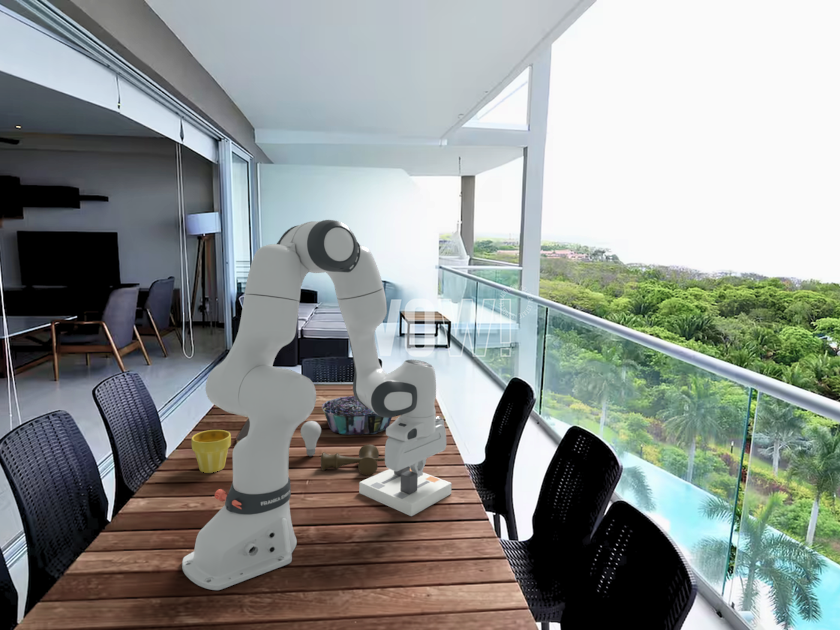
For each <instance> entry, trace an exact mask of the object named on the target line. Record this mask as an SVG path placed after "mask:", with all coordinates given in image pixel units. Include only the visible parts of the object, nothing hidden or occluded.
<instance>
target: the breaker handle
mask: <svg viewBox="0 0 840 630" xmlns="http://www.w3.org/2000/svg"><path fill="white" fill-rule="evenodd" d="M408 470H409V471H410V467H409V466H408V467H406V468H404V469H401V470H399V471H394V474H396V475H398V476H401V474H402V473H404V472H406V471H408Z"/></svg>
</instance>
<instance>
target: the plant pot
mask: <svg viewBox="0 0 840 630" xmlns="http://www.w3.org/2000/svg"><path fill="white" fill-rule="evenodd" d="M231 445H232V435H231V432H230V431H227V430H223V429H210V430H209V429H208V430H204V431H200V432H197V433H195V434H193V435H192V437H191V450H192V451H193V452H194V455H195V458H196V460H197V464H198V469H199V471H200V472H201V473H203V472H204V473H203V474H212V473H213V472H214V473H217V471H218V472H220V471H222V470H223V469H224V468H225V466H226V460H227V457H228V452H229V448H230V447H231Z"/></svg>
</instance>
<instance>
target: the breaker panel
mask: <svg viewBox="0 0 840 630" xmlns="http://www.w3.org/2000/svg"><path fill="white" fill-rule="evenodd" d="M410 471H412V470H411V469H410ZM358 485H359V487H358V488H359V489H358V490H359V492H358V493H359V494H360V495H363V496H365V497H367V498H368V499H369V498H370V499H372V500H374V501H376V502H378V503H381V504H383V505H385V506H386V507H387V506H388V507H390V508H392V509H394V510H397V511H398V512H401V513H403V514H405V515H408V516H409V517H413V516H415V515H417V514H418V513H420V512H422V511H424V510H425V509H427V508H429V507H430V506H433V505H434V504H436V503H437V502H439V501H441V500H443V499H444V498H446V497H448V496H449V495H451V494H452V482H450V481H448V480H445V479H442V478H439V477H436V476H434V475H432V474H428V473H426V472H423V475H422V476H420V477H418V481H417V491H415V492H413V493H411V494H410V495H409V494H407V493H404V492H402V491H400V488H401V476H398V475H396V474H394V470H391V469H389V468H387V469H386V470H383V471H380V472H379V473H377V474H375V475H374V474H373V475H371V476H370V477H368V478H366V479H363V480H362V481H359V483H358Z"/></svg>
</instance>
